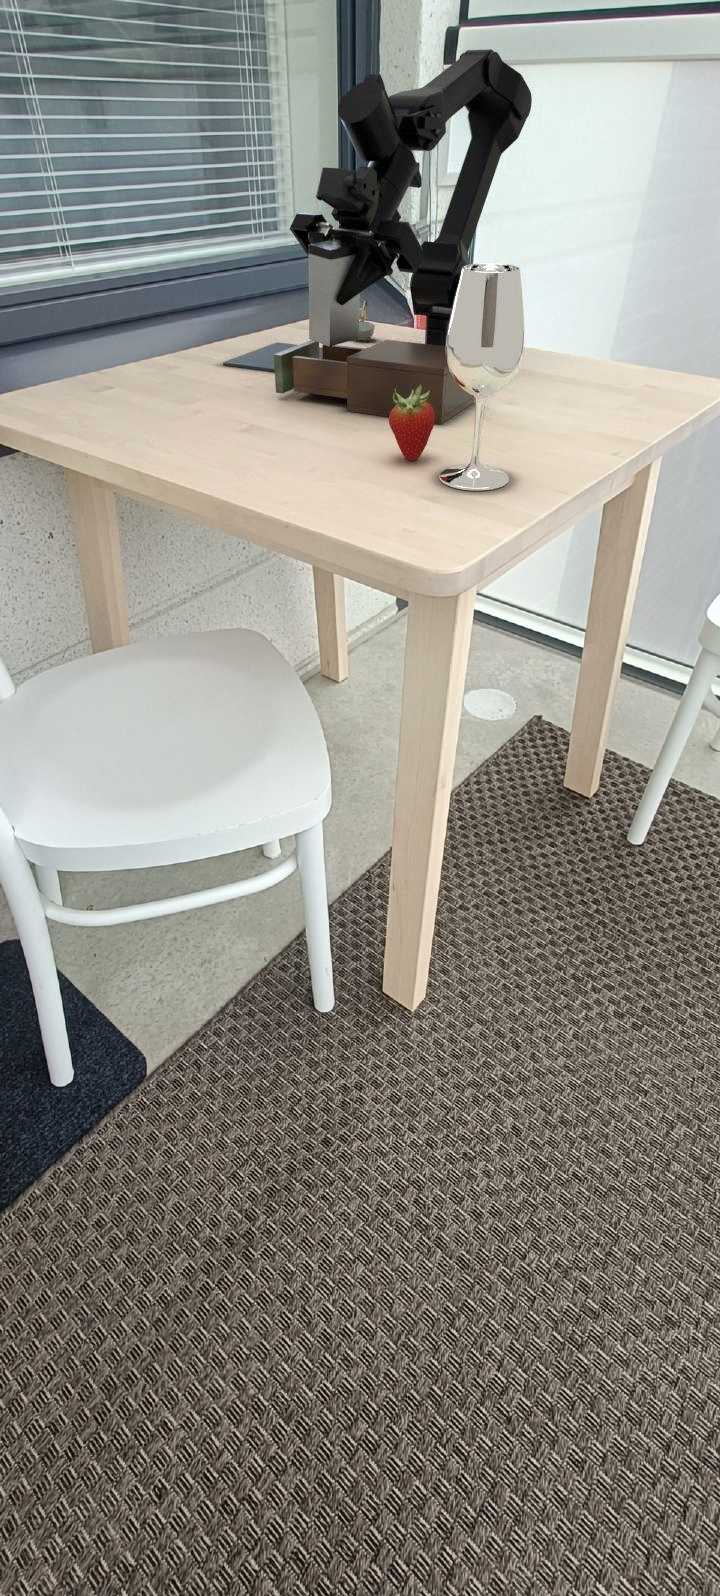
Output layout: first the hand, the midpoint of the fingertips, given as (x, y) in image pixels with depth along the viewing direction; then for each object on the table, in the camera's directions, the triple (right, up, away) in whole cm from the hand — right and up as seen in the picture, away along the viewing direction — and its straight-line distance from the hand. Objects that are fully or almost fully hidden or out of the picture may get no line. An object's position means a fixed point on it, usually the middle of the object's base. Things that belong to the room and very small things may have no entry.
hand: (326, 300), depth 113 cm
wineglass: (+17, -30, -18) cm, 39 cm away
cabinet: (+11, -12, +5) cm, 17 cm away
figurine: (+5, +14, +37) cm, 40 cm away
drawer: (0, -7, +9) cm, 11 cm away
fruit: (+10, -26, -12) cm, 30 cm away
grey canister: (+1, -3, +4) cm, 5 cm away
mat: (-7, +5, +26) cm, 28 cm away
